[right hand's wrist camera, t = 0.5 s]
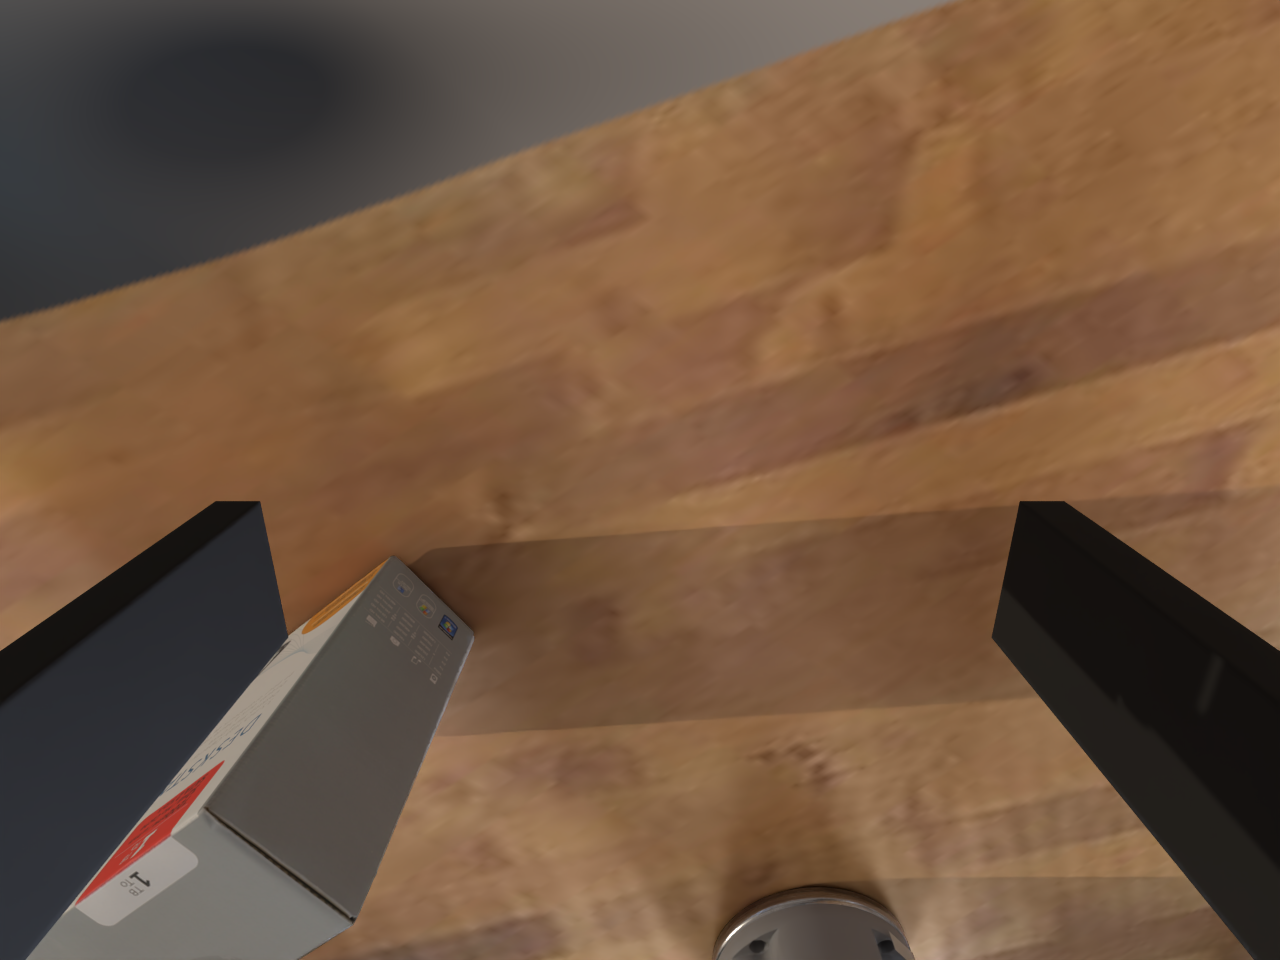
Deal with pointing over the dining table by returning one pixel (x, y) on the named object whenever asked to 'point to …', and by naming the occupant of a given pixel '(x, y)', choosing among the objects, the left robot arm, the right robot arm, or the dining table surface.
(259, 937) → the hard drive box
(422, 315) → the dining table surface
